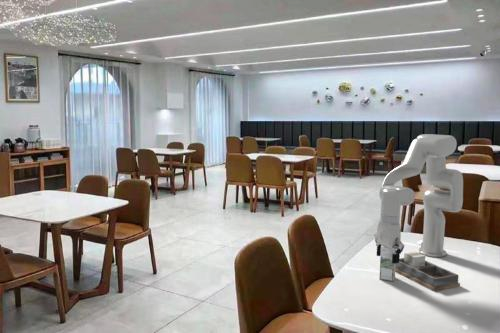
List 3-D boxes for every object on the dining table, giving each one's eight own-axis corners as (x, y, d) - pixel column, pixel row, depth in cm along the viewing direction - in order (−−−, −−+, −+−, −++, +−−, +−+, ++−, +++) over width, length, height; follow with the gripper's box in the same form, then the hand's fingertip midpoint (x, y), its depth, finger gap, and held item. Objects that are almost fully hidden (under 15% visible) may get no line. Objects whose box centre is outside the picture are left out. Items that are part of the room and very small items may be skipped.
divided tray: (391, 269, 195) (392, 251, 194) (415, 265, 200) (416, 248, 199) (433, 291, 173) (434, 271, 171) (459, 286, 178) (461, 266, 177)
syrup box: (395, 277, 187) (396, 243, 185) (393, 282, 182) (395, 247, 180) (381, 274, 189) (382, 242, 187) (379, 279, 184) (380, 245, 182)
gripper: (369, 214, 188) (367, 253, 191) (396, 224, 173) (394, 267, 175) (383, 213, 191) (381, 252, 193) (412, 223, 175) (409, 265, 177)
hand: (387, 259), depth 184 cm, fingers open, 9 cm apart
